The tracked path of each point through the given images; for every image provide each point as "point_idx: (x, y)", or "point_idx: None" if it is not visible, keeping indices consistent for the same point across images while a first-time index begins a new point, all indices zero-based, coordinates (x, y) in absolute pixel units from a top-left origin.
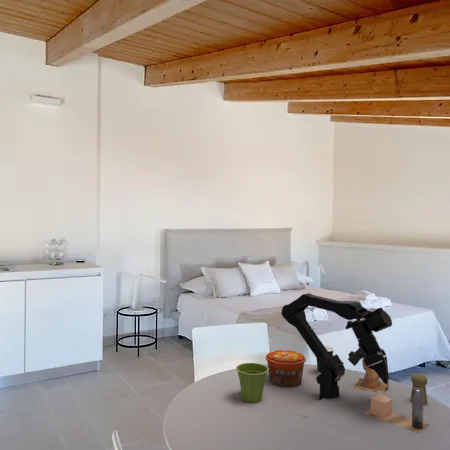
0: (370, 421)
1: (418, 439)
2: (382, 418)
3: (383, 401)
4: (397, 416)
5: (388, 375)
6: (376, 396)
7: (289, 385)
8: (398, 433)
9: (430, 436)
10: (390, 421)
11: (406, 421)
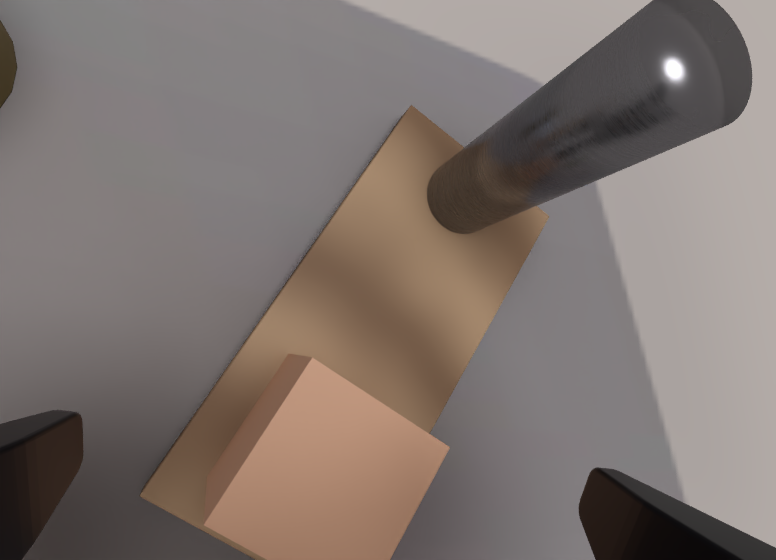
0: None
1: (549, 225)
2: None
3: (409, 462)
4: (329, 314)
5: (33, 435)
6: (281, 546)
7: None
8: (511, 334)
9: None
10: (435, 380)
11: (402, 258)
